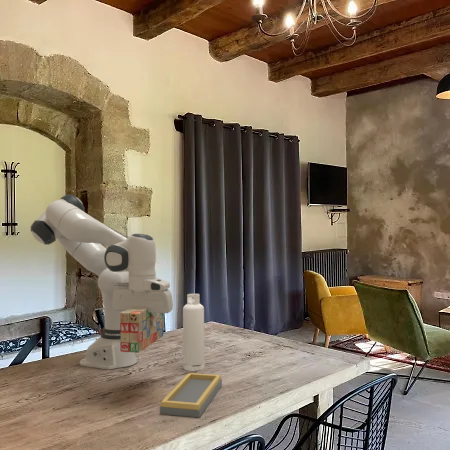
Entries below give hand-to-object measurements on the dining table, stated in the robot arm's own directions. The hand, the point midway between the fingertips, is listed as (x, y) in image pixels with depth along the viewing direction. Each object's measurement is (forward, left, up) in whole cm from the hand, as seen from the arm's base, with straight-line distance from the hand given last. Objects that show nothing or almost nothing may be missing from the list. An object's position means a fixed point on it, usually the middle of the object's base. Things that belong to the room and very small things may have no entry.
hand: (142, 325), depth 154 cm
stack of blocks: (0, +1, -6) cm, 6 cm away
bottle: (+9, +28, -22) cm, 37 cm away
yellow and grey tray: (+18, -2, -22) cm, 28 cm away
